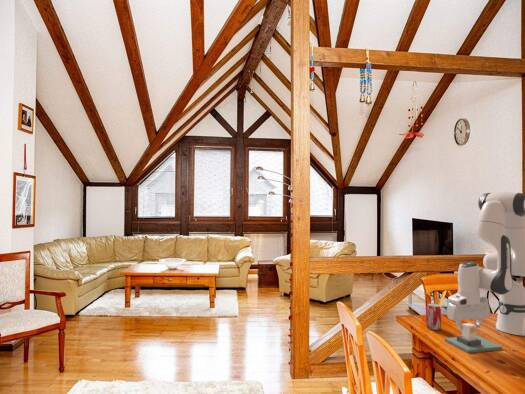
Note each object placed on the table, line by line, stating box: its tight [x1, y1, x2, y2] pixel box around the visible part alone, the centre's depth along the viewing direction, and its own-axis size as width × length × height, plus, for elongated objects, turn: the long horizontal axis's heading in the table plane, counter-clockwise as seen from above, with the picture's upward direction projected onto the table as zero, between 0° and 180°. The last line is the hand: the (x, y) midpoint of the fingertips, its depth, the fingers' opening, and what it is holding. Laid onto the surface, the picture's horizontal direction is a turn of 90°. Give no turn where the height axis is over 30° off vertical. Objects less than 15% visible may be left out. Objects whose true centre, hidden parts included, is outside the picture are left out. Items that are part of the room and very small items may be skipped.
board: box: [444, 334, 503, 354], centre depth 167 cm, size 18×14×3 cm
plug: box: [461, 322, 477, 341], centre depth 166 cm, size 4×4×8 cm
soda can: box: [425, 302, 442, 331], centre depth 189 cm, size 7×7×12 cm
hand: (468, 328), depth 167 cm, fingers open, 8 cm apart
